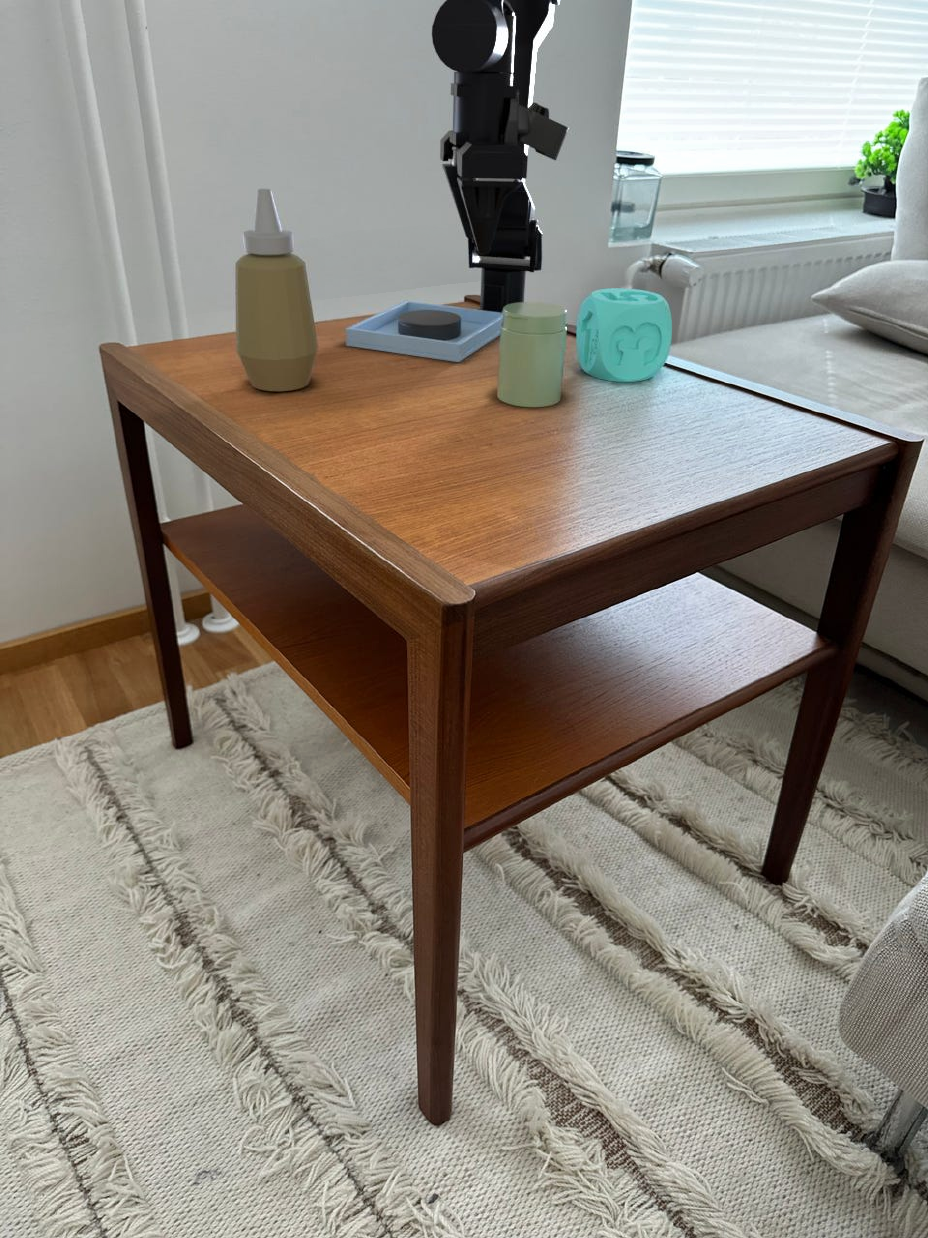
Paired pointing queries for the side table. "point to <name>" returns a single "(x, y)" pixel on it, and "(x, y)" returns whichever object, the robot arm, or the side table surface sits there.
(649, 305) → the decorative dice
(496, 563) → the side table surface
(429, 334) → the lid
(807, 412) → the side table surface
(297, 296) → the squeeze bottle
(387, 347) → the tray
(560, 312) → the jar
